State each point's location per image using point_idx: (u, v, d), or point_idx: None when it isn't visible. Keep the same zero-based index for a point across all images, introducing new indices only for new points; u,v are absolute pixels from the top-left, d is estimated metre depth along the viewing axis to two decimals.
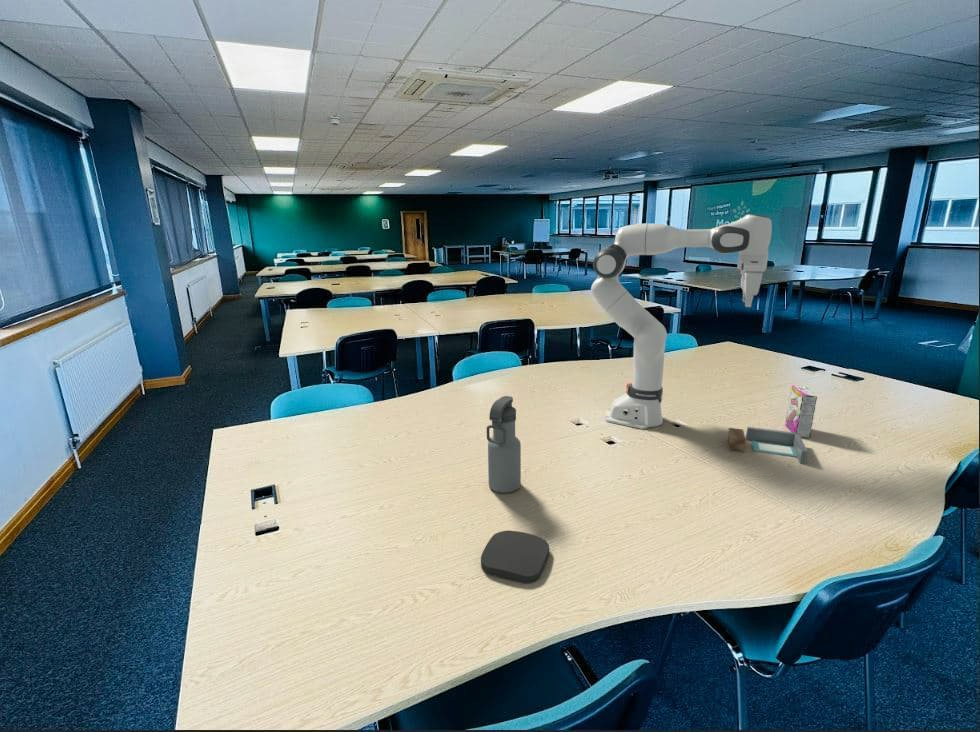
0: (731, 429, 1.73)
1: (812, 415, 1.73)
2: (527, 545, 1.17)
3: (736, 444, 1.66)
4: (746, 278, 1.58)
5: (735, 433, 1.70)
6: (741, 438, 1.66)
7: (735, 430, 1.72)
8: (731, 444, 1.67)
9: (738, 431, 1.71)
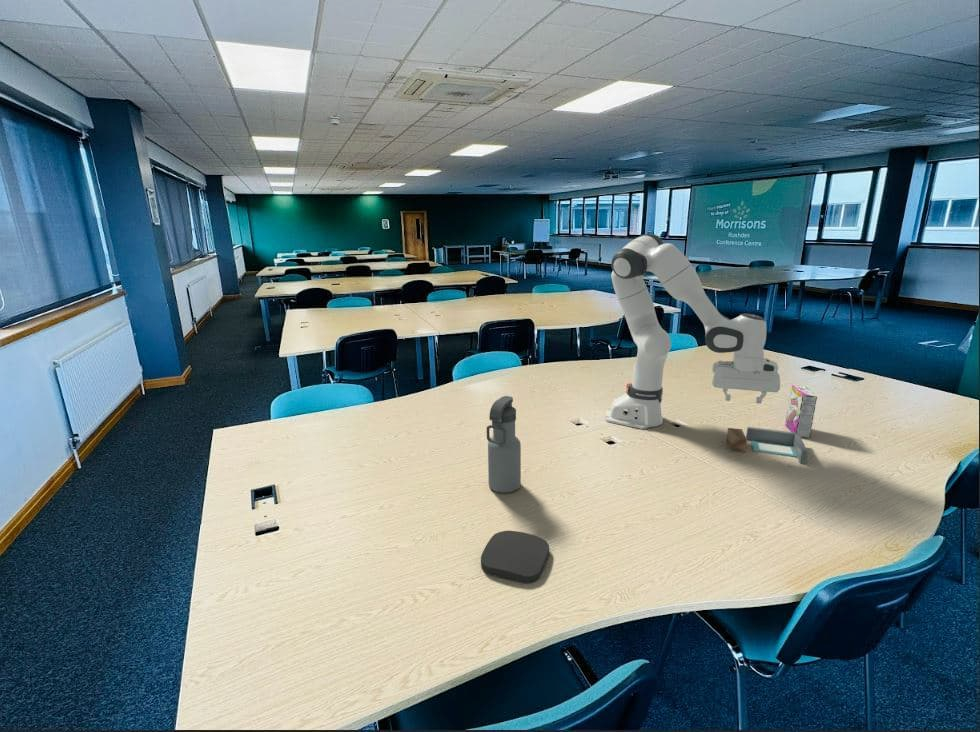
0: (730, 429, 1.73)
1: (812, 415, 1.73)
2: (527, 545, 1.17)
3: (737, 444, 1.66)
4: (779, 377, 1.58)
5: (735, 433, 1.70)
6: (742, 438, 1.66)
7: (735, 430, 1.72)
8: (732, 444, 1.67)
9: (738, 431, 1.71)
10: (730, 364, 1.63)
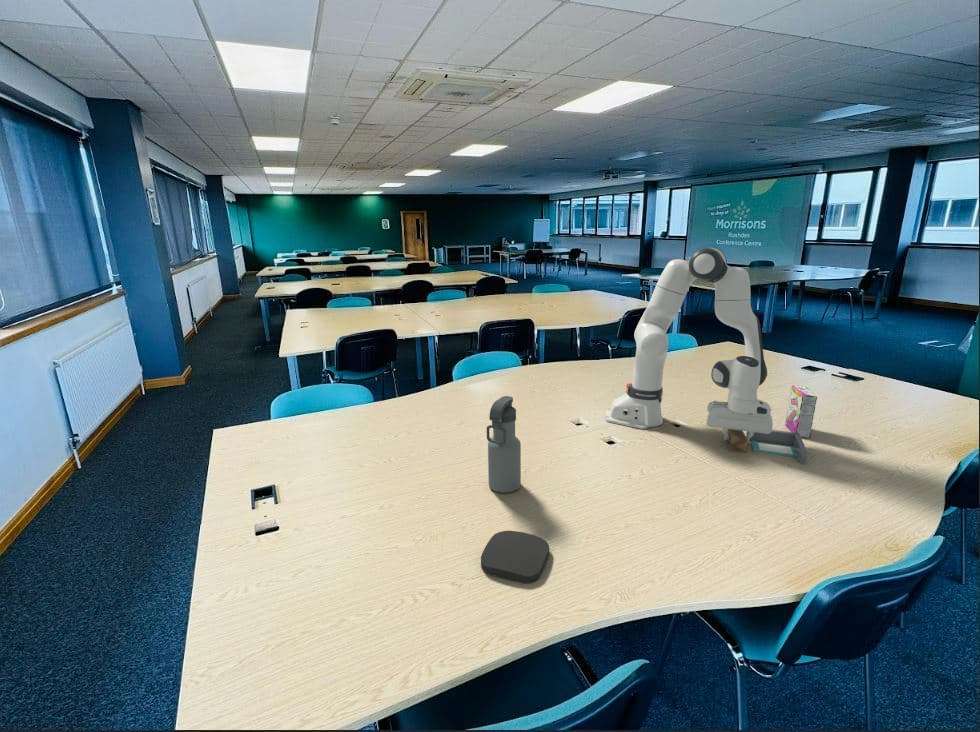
0: (730, 429, 1.73)
1: (812, 415, 1.73)
2: (527, 545, 1.17)
3: (738, 444, 1.66)
4: None
5: (736, 433, 1.70)
6: (742, 438, 1.66)
7: (734, 430, 1.72)
8: (733, 444, 1.66)
9: (738, 431, 1.71)
10: (724, 405, 1.68)
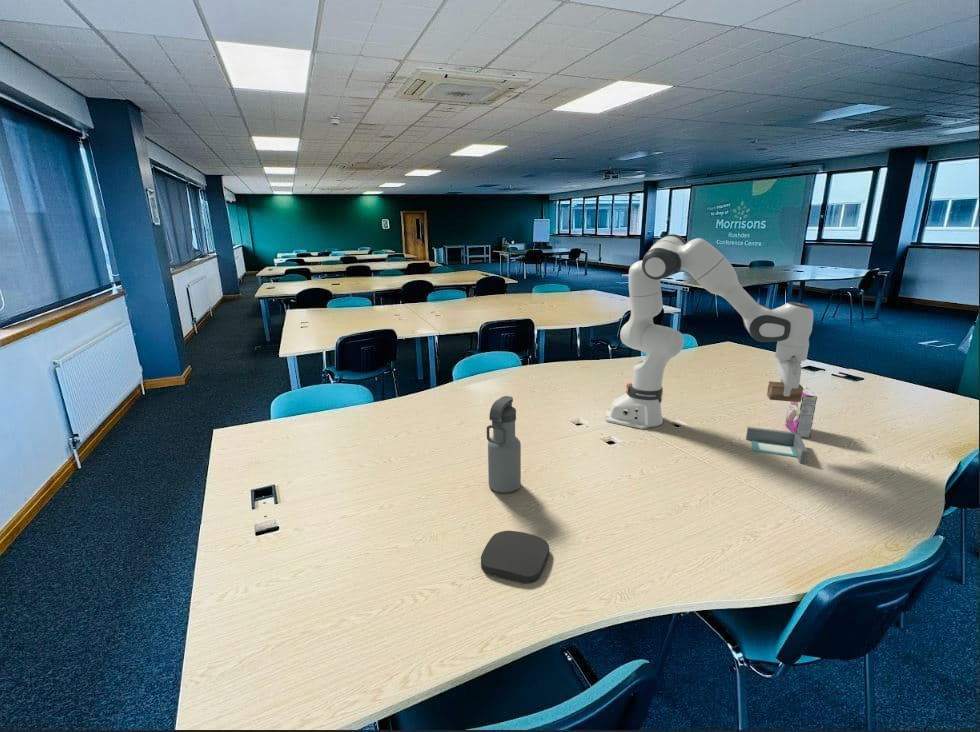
0: (776, 385, 1.60)
1: (812, 415, 1.73)
2: (527, 545, 1.17)
3: None
4: None
5: None
6: None
7: (777, 384, 1.61)
8: None
9: (779, 383, 1.62)
10: None
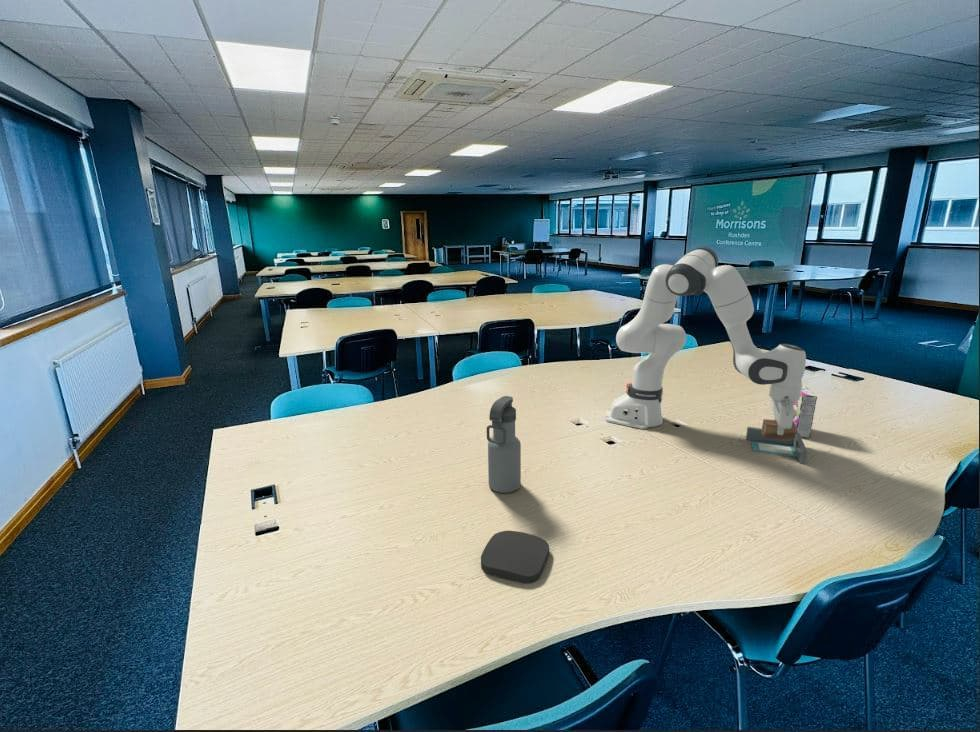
0: (770, 423, 1.64)
1: (812, 415, 1.73)
2: (527, 545, 1.17)
3: None
4: None
5: None
6: None
7: (771, 422, 1.65)
8: None
9: (773, 421, 1.66)
10: None
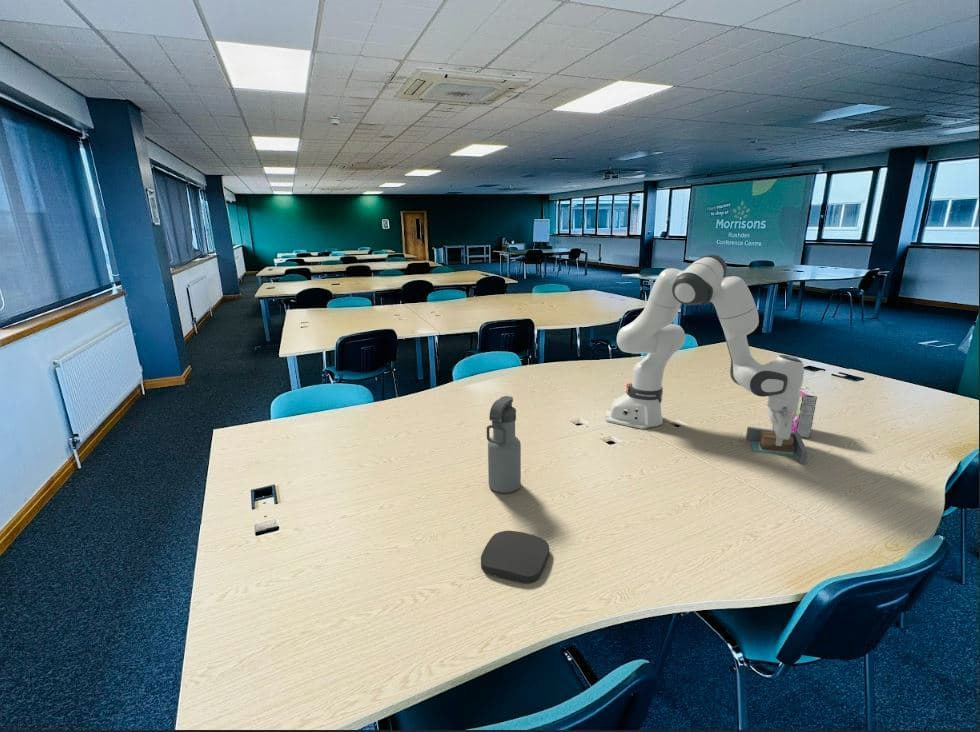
0: (767, 435, 1.66)
1: (812, 415, 1.73)
2: (527, 545, 1.17)
3: None
4: None
5: None
6: None
7: (769, 434, 1.67)
8: None
9: (770, 433, 1.68)
10: None
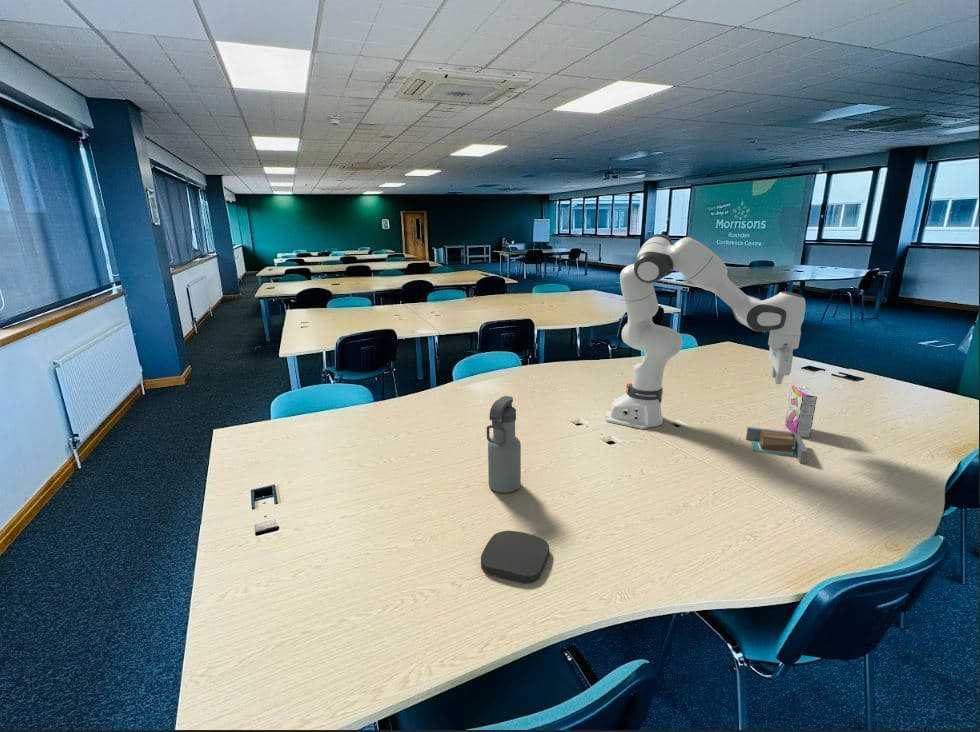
0: (767, 435, 1.66)
1: (812, 415, 1.73)
2: (527, 545, 1.17)
3: None
4: None
5: (777, 435, 1.66)
6: (788, 435, 1.67)
7: (769, 434, 1.67)
8: None
9: (770, 433, 1.68)
10: None
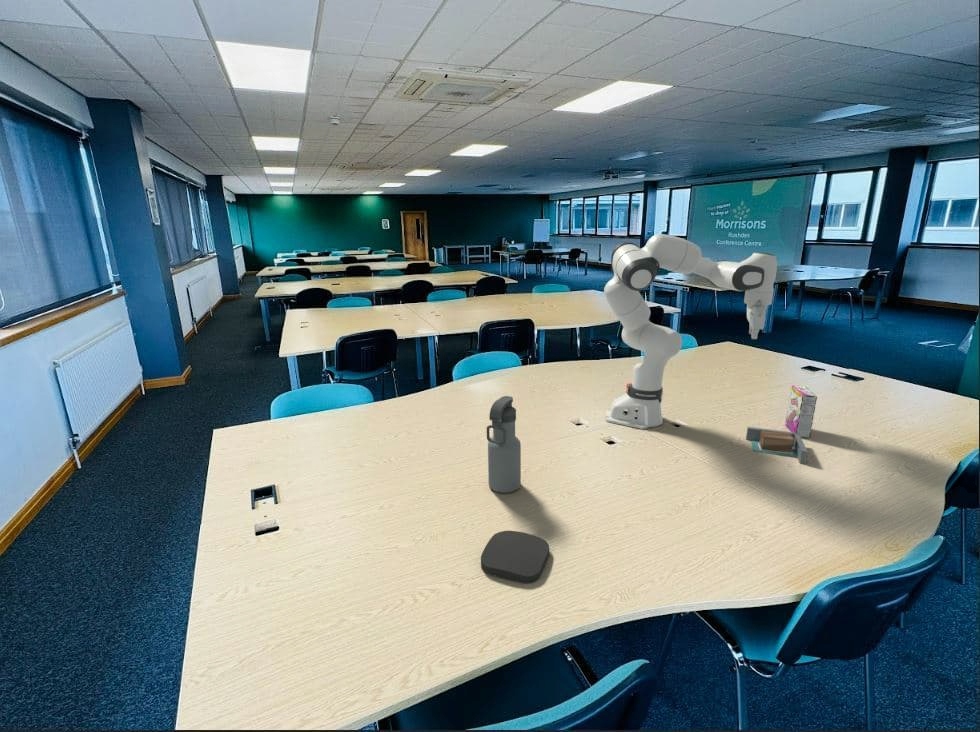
0: (767, 435, 1.66)
1: (812, 415, 1.73)
2: (527, 545, 1.17)
3: None
4: None
5: (777, 435, 1.66)
6: (788, 435, 1.67)
7: (769, 434, 1.67)
8: None
9: (770, 433, 1.68)
10: None
